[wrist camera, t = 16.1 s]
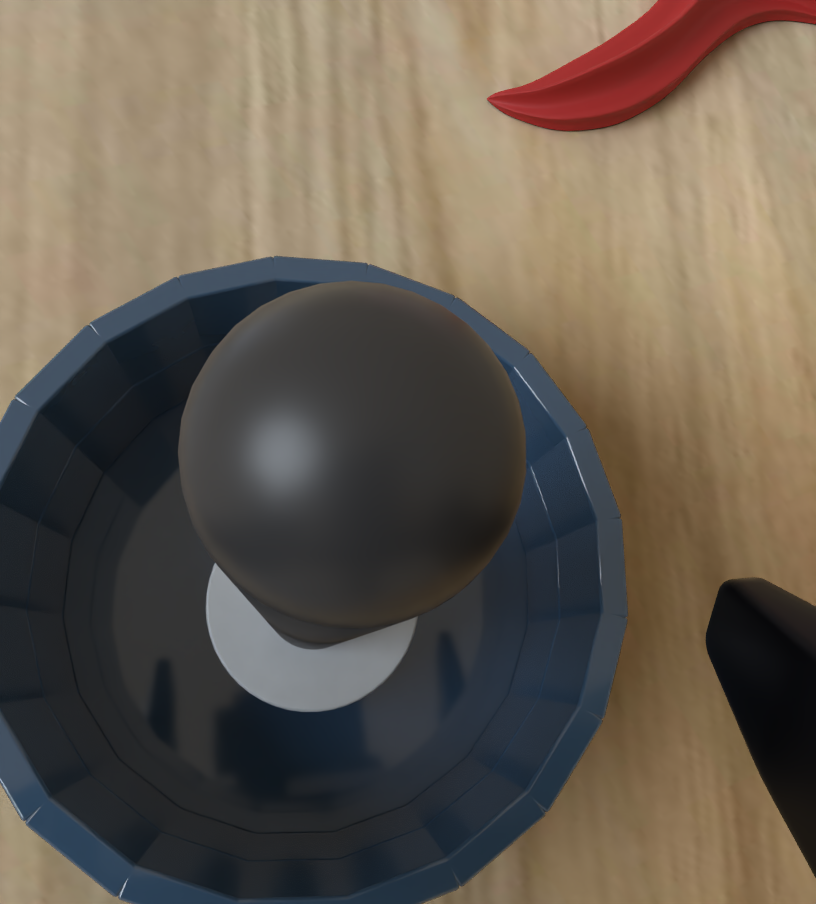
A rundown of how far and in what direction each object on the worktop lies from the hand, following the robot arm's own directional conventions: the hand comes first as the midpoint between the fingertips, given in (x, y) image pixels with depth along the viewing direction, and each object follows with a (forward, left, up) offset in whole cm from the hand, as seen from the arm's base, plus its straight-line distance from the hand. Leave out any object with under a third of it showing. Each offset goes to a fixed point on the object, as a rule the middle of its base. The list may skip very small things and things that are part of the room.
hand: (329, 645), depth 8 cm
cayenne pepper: (+15, +14, -9) cm, 22 cm away
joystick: (0, +1, -9) cm, 9 cm away
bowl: (0, +1, -9) cm, 9 cm away
